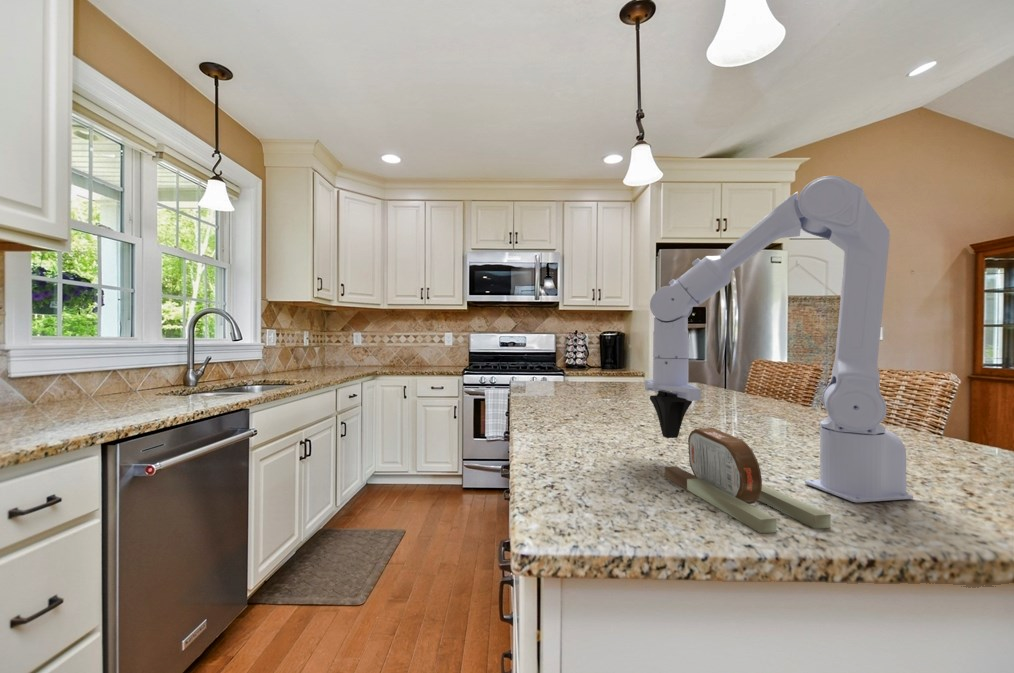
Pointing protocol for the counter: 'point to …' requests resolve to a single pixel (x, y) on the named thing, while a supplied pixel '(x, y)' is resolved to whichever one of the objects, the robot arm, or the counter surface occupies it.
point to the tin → (725, 463)
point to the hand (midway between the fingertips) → (670, 437)
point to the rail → (746, 511)
